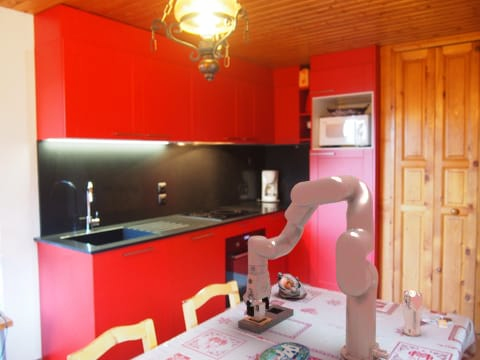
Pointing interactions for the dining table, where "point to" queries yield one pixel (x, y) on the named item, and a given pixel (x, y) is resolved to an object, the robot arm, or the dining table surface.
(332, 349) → the dining table surface
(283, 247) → the robot arm
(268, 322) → the hole rail
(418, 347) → the dining table surface
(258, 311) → the steel peg
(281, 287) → the lucky cat figurine
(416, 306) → the beer glass
